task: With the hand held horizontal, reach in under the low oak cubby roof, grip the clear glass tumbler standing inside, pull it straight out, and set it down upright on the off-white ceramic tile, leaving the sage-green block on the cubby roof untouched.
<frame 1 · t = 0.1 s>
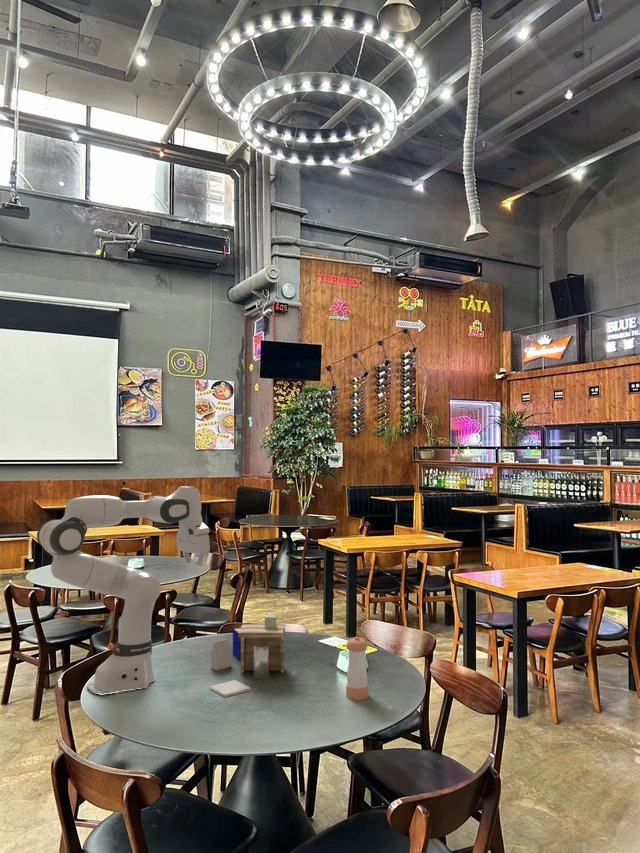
hand: (193, 564, 235), 39 cm above the table, tool pointing down, fingers open, 8 cm apart
pepper shaker: (357, 696, 203), on the table
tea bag: (221, 667, 233), on the table
sage block: (270, 627, 228), point 16 cm above the table, touching oak cubby
oak cubby: (261, 674, 225), on the table
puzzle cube: (247, 656, 248), on the table
clear glass tumbler: (261, 675, 223), on the table
ceramic tile: (229, 689, 210), on the table
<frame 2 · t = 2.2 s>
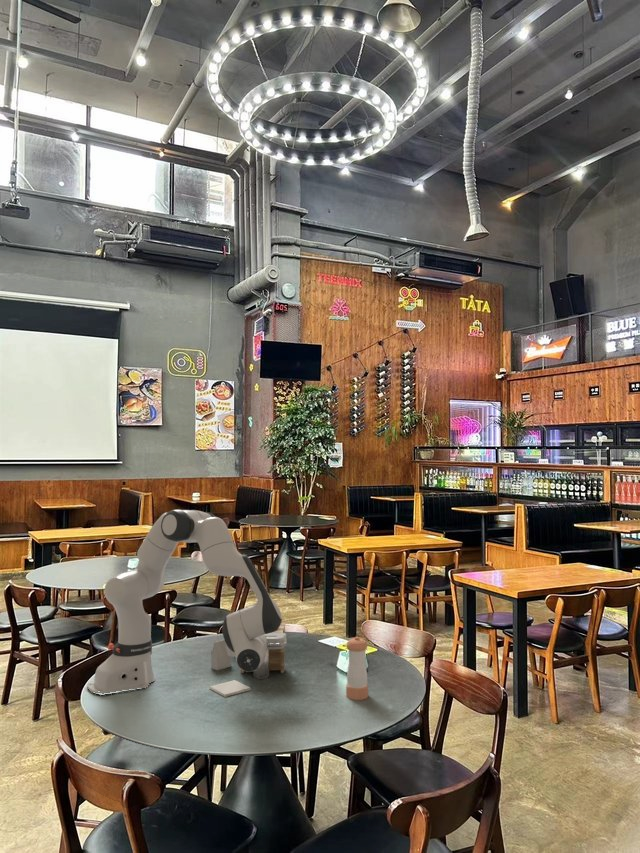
hand: (258, 634, 212), 18 cm above the table, tool horizontal, fingers open, 8 cm apart
nothing on the table moved.
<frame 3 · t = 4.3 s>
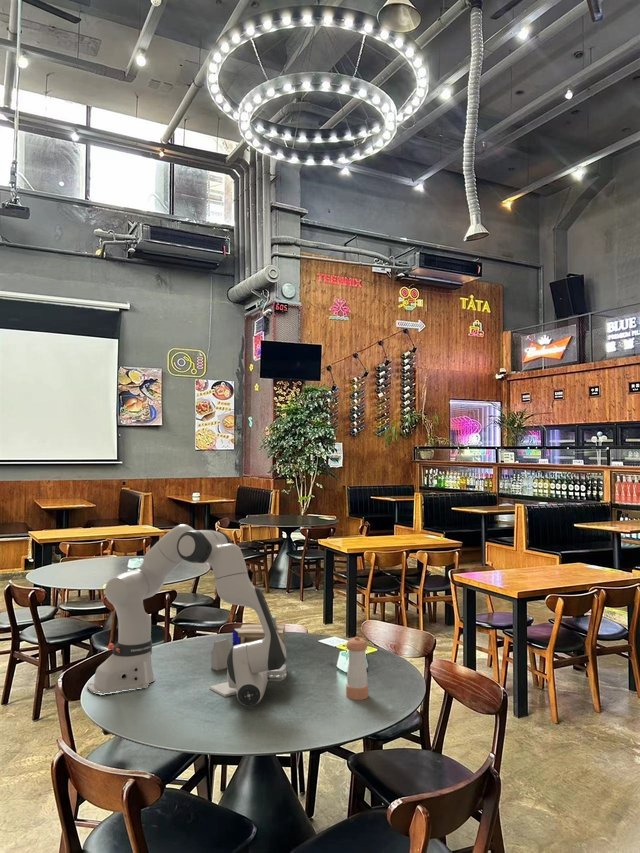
hand: (258, 664, 216), 6 cm above the table, tool horizontal, fingers open, 8 cm apart
nothing on the table moved.
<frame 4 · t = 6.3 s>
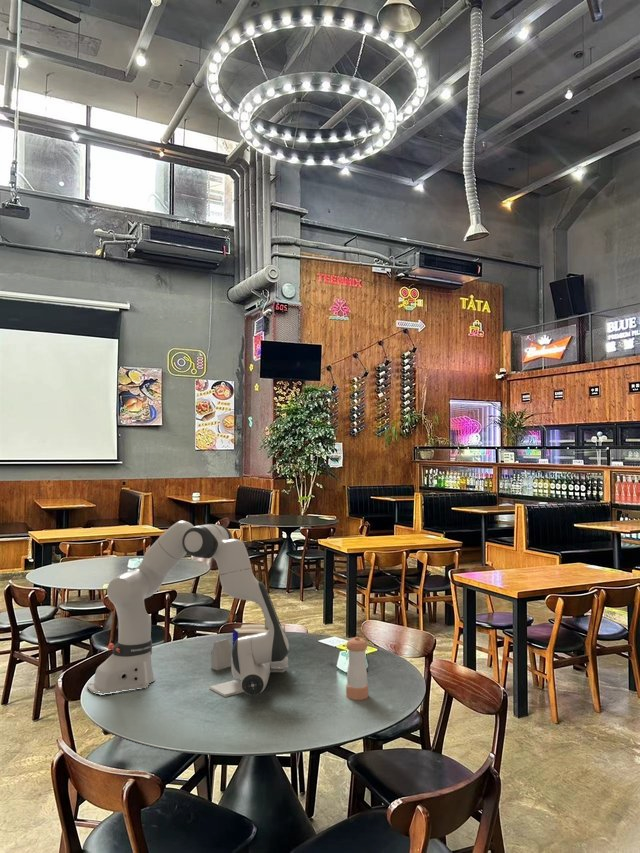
hand: (261, 656, 225), 7 cm above the table, tool horizontal, fingers closed on clear glass tumbler, 6 cm apart
clear glass tumbler: (261, 675, 223), on the table, touching gripper
everything else where it was.
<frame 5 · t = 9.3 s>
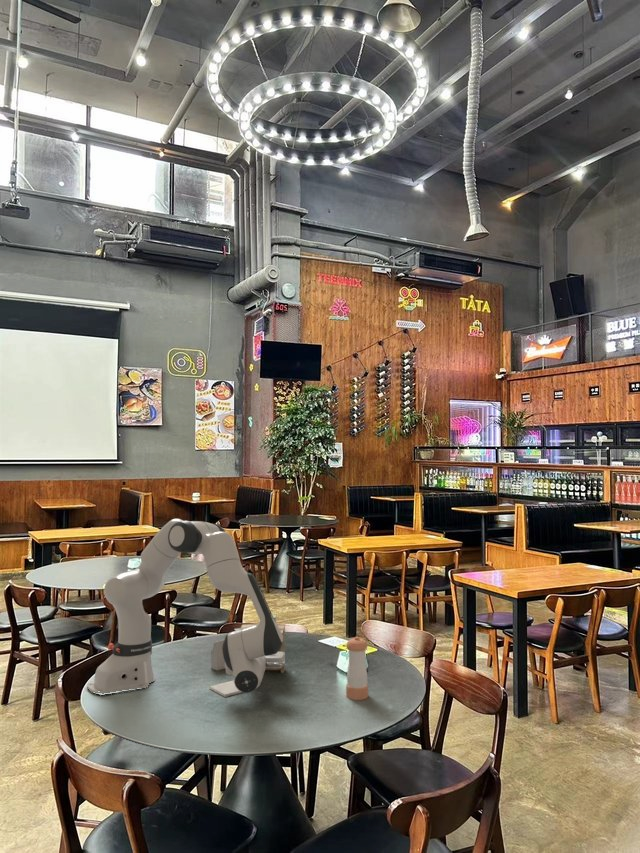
hand: (256, 651, 212), 12 cm above the table, tool horizontal, fingers closed on clear glass tumbler, 6 cm apart
clear glass tumbler: (256, 672, 211), point 5 cm above the table, touching gripper
everything else where it was.
when the fingers open (8 cm above the table, at t = 12.4 s): clear glass tumbler stays where it is, resting on ceramic tile.
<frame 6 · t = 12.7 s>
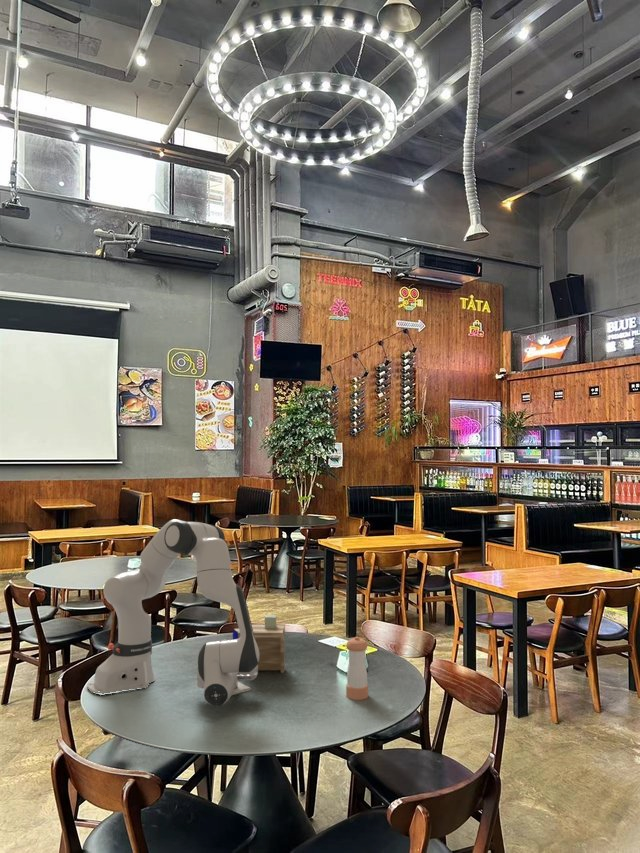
hand: (230, 663, 211), 8 cm above the table, tool horizontal, fingers open, 8 cm apart
clear glass tumbler: (229, 687, 210), point 1 cm above the table, touching ceramic tile
everything else where it was.
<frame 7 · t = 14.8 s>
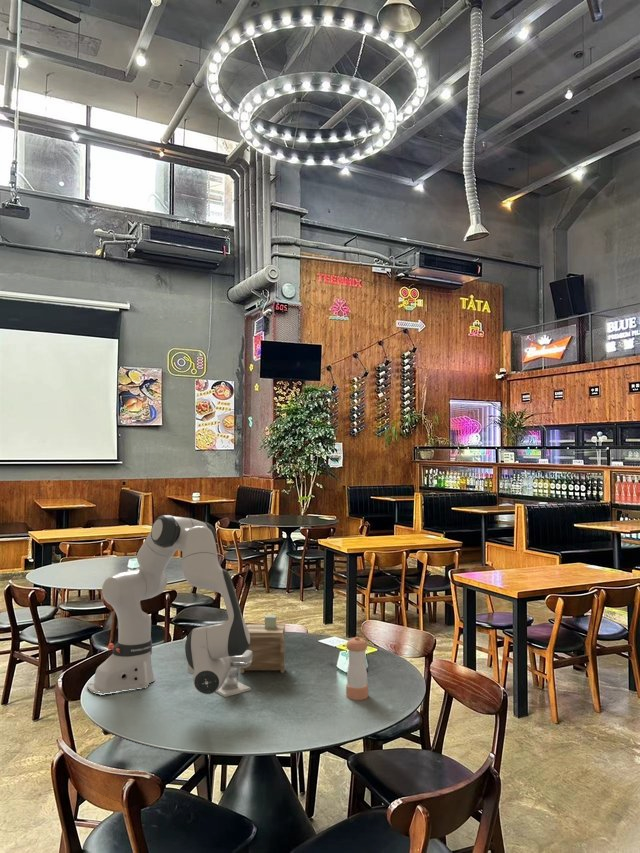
hand: (223, 649, 201), 16 cm above the table, tool horizontal, fingers open, 8 cm apart
nothing on the table moved.
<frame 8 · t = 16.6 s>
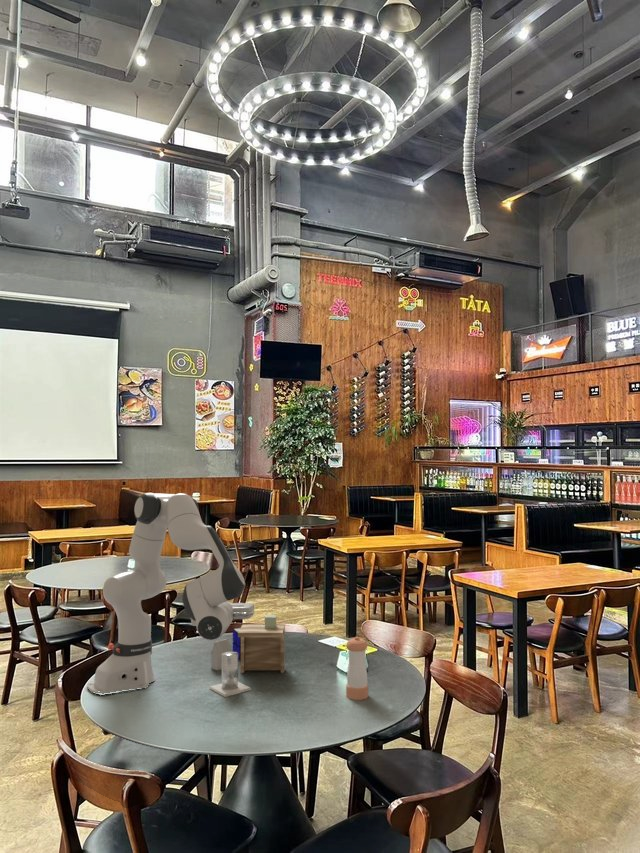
hand: (225, 605, 204), 30 cm above the table, tool horizontal, fingers open, 8 cm apart
nothing on the table moved.
at the end: clear glass tumbler inside the target area (0.0 cm from its centre), point 0.8 cm above the table; clear glass tumbler tilted 0°; the gripper is holding nothing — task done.
